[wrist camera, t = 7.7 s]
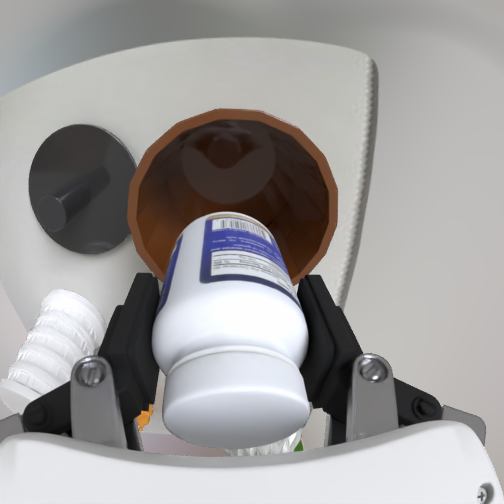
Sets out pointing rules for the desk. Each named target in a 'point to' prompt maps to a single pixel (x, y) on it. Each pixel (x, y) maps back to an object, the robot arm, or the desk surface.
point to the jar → (234, 186)
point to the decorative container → (52, 348)
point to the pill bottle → (230, 337)
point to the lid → (82, 188)
